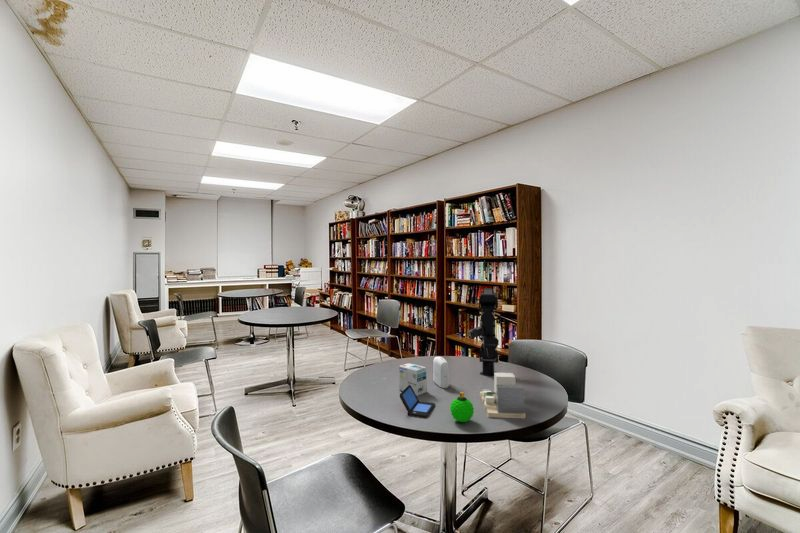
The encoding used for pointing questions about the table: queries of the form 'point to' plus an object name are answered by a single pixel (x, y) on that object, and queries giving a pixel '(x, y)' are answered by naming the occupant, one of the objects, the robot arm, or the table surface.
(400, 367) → the light bulb box
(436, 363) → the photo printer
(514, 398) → the grey square block
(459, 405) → the ornament
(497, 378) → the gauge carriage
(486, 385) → the table surface
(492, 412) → the base
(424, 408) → the handheld game console
